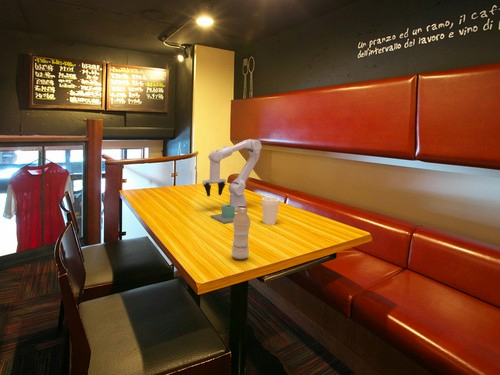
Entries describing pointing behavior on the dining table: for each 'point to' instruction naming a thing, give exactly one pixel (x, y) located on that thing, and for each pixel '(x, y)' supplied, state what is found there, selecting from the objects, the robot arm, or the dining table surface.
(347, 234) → the dining table surface
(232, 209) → the sleeve
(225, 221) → the stub board
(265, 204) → the foam cup
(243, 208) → the plastic bottle
